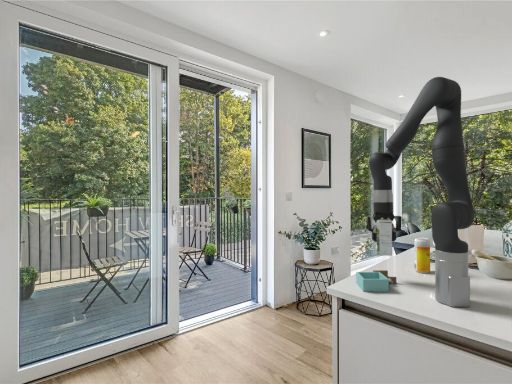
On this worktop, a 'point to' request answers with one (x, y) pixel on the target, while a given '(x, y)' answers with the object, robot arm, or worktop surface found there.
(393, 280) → the mount rails
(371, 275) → the teal square tray
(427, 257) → the glass of beer
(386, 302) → the worktop surface
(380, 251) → the syrup box
